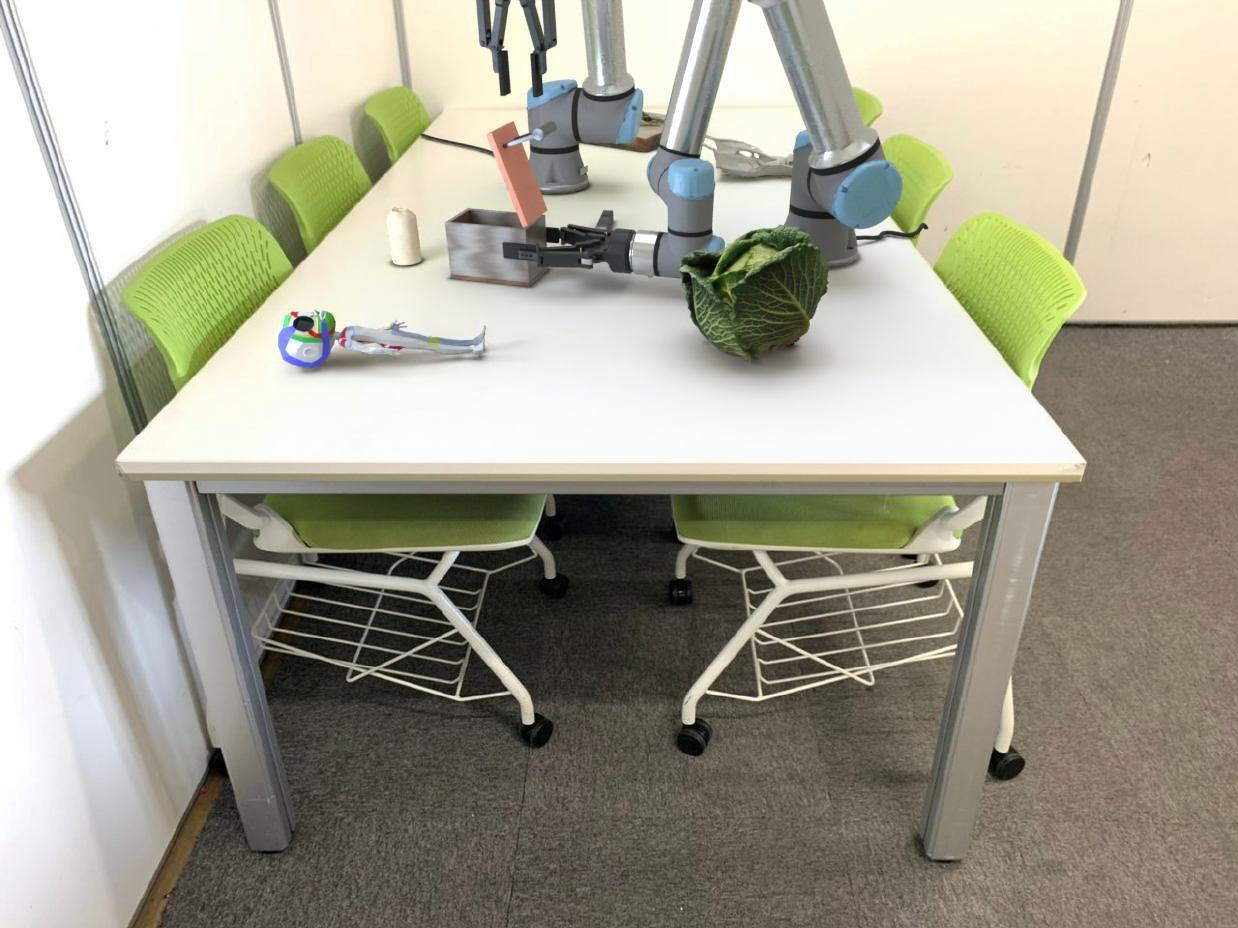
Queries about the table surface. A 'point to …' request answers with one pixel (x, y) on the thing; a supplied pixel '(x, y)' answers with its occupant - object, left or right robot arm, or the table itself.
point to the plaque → (644, 133)
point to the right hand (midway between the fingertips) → (514, 241)
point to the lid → (520, 168)
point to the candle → (403, 236)
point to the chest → (492, 246)
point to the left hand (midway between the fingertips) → (521, 95)
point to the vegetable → (755, 290)
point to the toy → (356, 339)
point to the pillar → (605, 220)
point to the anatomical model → (747, 159)
